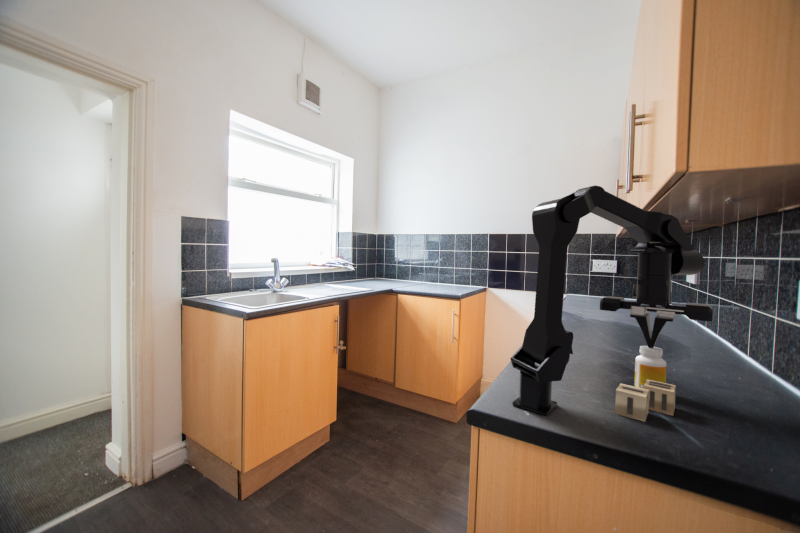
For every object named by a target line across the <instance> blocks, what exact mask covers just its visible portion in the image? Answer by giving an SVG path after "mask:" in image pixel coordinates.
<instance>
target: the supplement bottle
mask: <svg viewBox="0 0 800 533" xmlns="http://www.w3.org/2000/svg"><path fill="white" fill-rule="evenodd" d="M638 351H639V354H638V355H636V357H635V359H634V381H633V382H634V383H633V384H634V385H633V386H634V387H639V388H643V389H644V384H645V382H646V380H647V379H648V380H653V381H657V382H662V383H667V361H666V360H665V359H663V358H662V357H663V355H664V350H663V348H661V347H657V346H654V347H653V348H649V347H648V345H640V346H639V350H638Z"/></svg>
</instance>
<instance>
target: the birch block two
mask: <svg viewBox="0 0 800 533" xmlns="http://www.w3.org/2000/svg"><path fill="white" fill-rule="evenodd" d="M644 389H647V390H649V404H648V411H653V412H655V413H656V412H657V413H661V414H665V415H668V416H674V413H675V408H676V407H675V406H676V384H671V383H667V382H666V383H662V382H657V381H653V380H648V379H647V380H646V382H645V384H644Z"/></svg>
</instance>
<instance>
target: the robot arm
mask: <svg viewBox="0 0 800 533" xmlns="http://www.w3.org/2000/svg"><path fill="white" fill-rule="evenodd" d="M588 214H593V215H596V216H597V217H600V218H601V219H604V220H607V221H608V222H611V223H613V224H615V225H617V226H619V227H622V228H623V229H624V230H626V232H627V235H628V236H629V237H630V238H632V239H633V240H634V241H636V242H637V245H635V246H633V247H632V248H631V249H630V253H631V254H638V255H637V274H636V275H637V278H636V280H637V281H636V283H634V284H633V286H632V293H631V294H632V295H631V296H632V298H633V299H636V301H631V300H630V301H628V300H625V297H621V296H611V295H610V296H604V297H602V298H600V301H599V310H600V311H605V312H607V311H609V312H617V311H618V310H622V309H623V310H630V314H629V317H630V318H634V319H635V320H636V322H637V324H638V326H639V327H640V329H641V332H642V334H643V337H644V340H645V343H646V346H648V347H649V348H653V347H655V345H656V342H657V340H658V338H659V336H660V333H661V332H662V329H663V328H664V326H665V325H666V323H669V322H670V323H671V322H672V323H673V322H674V321H675V318H676V315H683V316H685V317H687V318H688V319H689V320H691V321H692V320H693V321H701V322H702V321H703V322H713V313H714V312H713V307H712V306H711V305H710V304H709V303H698V302H697V303H696V302H695V303H694V302H686V304H685V305H679V304H678V305H677V304H672V297H673V296H672V294H673V293H672V289H671V286H672V276H679V275H680V276H692V275H696V274H698V273H700V272H701V271H702V270H703V269H704V267H705V258H704V257H703V255H702V254H701V253H700V252H699V251H698V250H696V249H695V244H694V243H691V242H690V240H689V239H688V237H687V234H686V233H685V231H684V229H683V226H682V225H681V223H680V222H679V219H678V217H676V216H675V215H673V214H671V213H666V212H662V211H656V210H655V211H654V210H645V209H643V208H641V207H638V206H637V205H635V204H633V203H630V202H628V201H627V200H624V199H622V198H621V197H618V196H616V195H614V194H613V193H610V192H608V191H606V190H605V189H604V188H603V187H602V186H600V185H592V186H587V187H582V188H579V189H577V190H576V191H574V192H572V193H570V194H568V195H566V196H563V197H561V198H558V199H554V200H549V201H545V202H541V203H539V204H537V205H536V206H535V207H534V208H533V210H532V214H531V223H532V233H533V235H534V238H535V241H537V244H538V248H539V249H538V259H537V260H538V262H537V274H536V285H535V286H536V287H535V301H534V314H533V315H534V316H533V319H532V321H531V322H530V324H529V325H528V327H527V328H526V330H525V333H524V336H523V337H524V338H523V340H522V341H523V342H522V344H521V345H520V346H519V348H518V349H517V350H516V351H515V352H514V354H513V355H511V357H510V363H511V366H512V368H513V369H516V370H518V371H519V396H518V398H515V399H514V400H513V401H512V405H513V406H514V407H517V408H521V409H523V410H527V411H531V412H533V413H537V414H539V415H542V416H548V415H549V414H550V413H551V412H552V411H553V410H554V409H555V408H556V407H557V406H558V402H557V401H555V400H552V391H553V390H552V387H553V386H552V385H553V382H561V381H562V379H563V376H564V373H565V371H566V367H567V365H568V364H569V362H570V357H571V355H573V354H574V352H573V342H574V333H573V331H569V330H566V329H565V326H564V323H563V308H564V307H563V306H564V294H565V282H566V269H567V258H568V257H567V256H568V254H567V253H568V247H569V245H570V243H571V242H572V240H573V239H574V237H575V236H576V234H577V232H578V229H579V224H580V219H582V218H583V217H585V216H587V215H588ZM649 312H651V313H656V314H657V315H656V316H655V317H654V321H653V322H654V323H653V328H652V329H651V321H650V320H651V319H650V314H651V313H649ZM651 330H652V332H651Z"/></svg>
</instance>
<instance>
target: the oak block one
mask: <svg viewBox="0 0 800 533" xmlns="http://www.w3.org/2000/svg"><path fill="white" fill-rule="evenodd" d="M614 404H615V408H614V414H616V415H619V416H621V417H622V416H623V417H626V418H629V419H633V420H637V421H640V422H644V423H646V420H647V417H648V415H649V410H648V404H649V390H647V389H643V388H639V387H634V385H629V384H625V383H621V382H620V383H619V385H618V386H617V387H616V389H615V403H614Z"/></svg>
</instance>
